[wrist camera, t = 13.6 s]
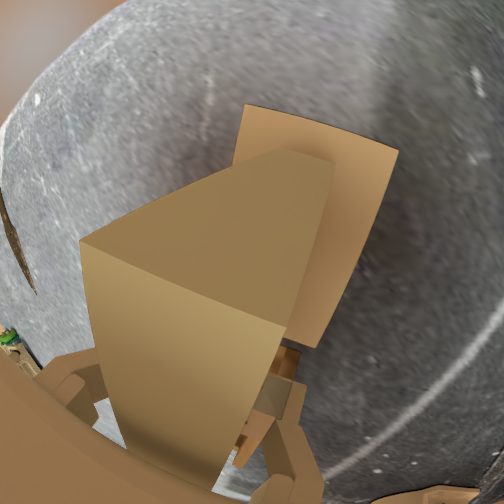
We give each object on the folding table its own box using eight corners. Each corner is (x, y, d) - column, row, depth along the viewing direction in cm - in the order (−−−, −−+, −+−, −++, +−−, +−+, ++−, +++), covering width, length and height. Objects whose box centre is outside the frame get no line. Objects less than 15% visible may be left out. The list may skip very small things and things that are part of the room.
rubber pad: (397, 149, 14) (398, 150, 14) (316, 344, 22) (315, 348, 21) (247, 104, 16) (244, 104, 15) (208, 303, 23) (205, 307, 23)
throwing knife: (-2, 161, 27) (-6, 162, 26) (44, 294, 34) (41, 297, 33) (-11, 170, 28) (-14, 172, 28) (33, 294, 35) (30, 296, 35)
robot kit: (-3, 329, 56) (-24, 347, 47) (18, 325, 45) (-11, 350, 37) (34, 382, 61) (15, 401, 53) (67, 394, 50) (43, 420, 42)
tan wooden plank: (335, 163, 14) (286, 327, 3) (277, 334, 20) (201, 508, 9) (280, 147, 15) (79, 240, 4) (237, 319, 21) (140, 479, 9)
